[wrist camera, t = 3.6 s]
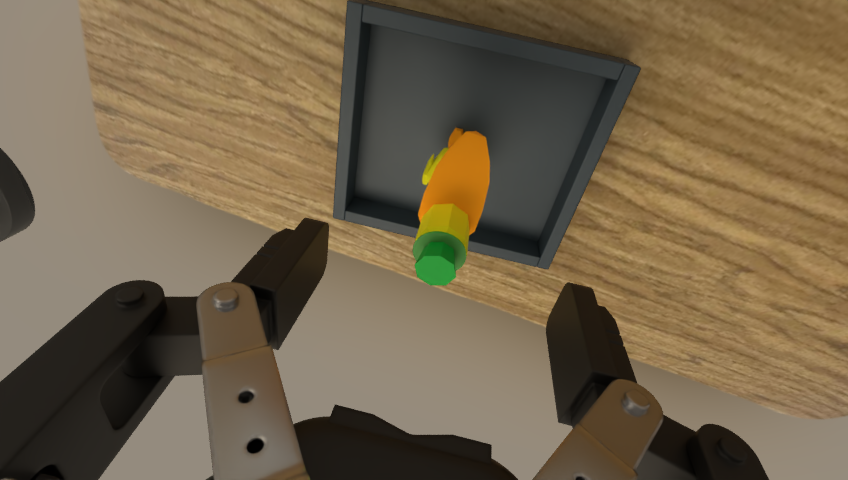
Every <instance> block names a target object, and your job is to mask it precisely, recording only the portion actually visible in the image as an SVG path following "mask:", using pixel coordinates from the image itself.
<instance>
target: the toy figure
mask: <svg viewBox="0 0 848 480" xmlns="http://www.w3.org/2000/svg"><path fill="white" fill-rule="evenodd" d="M489 181H490V160H489V153H488V147H487V140H486V137H485V136H483V135H482V134H480V133H479V132H477V131H466V132H465V133H464V134H463V129H460V128H455V129H454V131H453V132H452V134H451V135H450V138H449V142H448V148H443V150H442V151H441V152H440V153H439V154H438V156H437V157H436V158H435V159H434V154H433V155H432V156H431V157H430V159H429V160H428V163H427V165H426V168H425V170H424V173H423V176H422V183H423V184H424V185H427V183H428V186H427V188H426V190H425V192H424V195H423V198H422V202H421V205H420V209H419V212H418V217H419V220H420V226H419V229H418V232H417V236H416V239H415V243H414V246H413V255H414V258H415V260H416V261H417V262H416V263H415V269H416V273H417V277H418V278H420V279H421V280H423V281H424V282H426V283H427V284H429V285H447V284H448V283H449V282H451V281H452V280H453V279H454V278H455V277H456V272H455V271H456V270H458V269H459V268H461V267H462V266H463V264H464V262H465V260H466V256H467V250H468V241H469V235H471V234H472V233H473V232H475V229H476V227H477V224H478V222H479V219H480V216H481V214H482V211H483V207H484V203H485V199H486V195H487V191H488V186H489Z"/></svg>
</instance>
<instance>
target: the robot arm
mask: <svg viewBox="0 0 848 480" xmlns="http://www.w3.org/2000/svg"><path fill="white" fill-rule="evenodd" d="M328 236H329V225H328V223H326V222H322V221H318V220H313V219H309V218H304V219H303V220H302V221H301V223H300V224H299V225H298V226H297V228H296V229H295V230H291V229H287V228H286V229H284V230H282V231H280V232H278V233H276V234H274V235H272V236H271V238H270V239H269V240H268V241H267V242H266V243H265V244H264V247H262V248H261V249H260V250H259V251H258V252H257V255H254V256H253V258H252V259H251V260H250V261H249V262H248V263H247V264H246V265H245V267H244V268H243V269H242V270H241V271H240V272H239V273H238V275H236V277H235V278H234V279H233V280H232V281H231V282H226V283H220V284H217V285H214V286H211V287H209V288H208V289H206V290H205V291H204V292H202V293H201V294H200V295H199V296H198V297H165V296H164V291H163V289H162V288H161V286H160V285H158V284H157V283H154V282H151V281H145V280H136V281H129V282H125V283H121V284H119V285H116V286H114V287H112V288H110V289H108V290H107V291H106V292H104V293H103V294H102V295H101V296H100V297H98V298H97V299H96V300H95V301H94V302H93V303H91V304H90V305H89V306H88V307H87V308H86V309H84V310H83V311H82V312H81V313H80V314H79V315H77V317H75V318H74V319H73V320H72V321H71V322H69V323H68V324H67V325H66V326H65V327H64V328H62V329H61V330H60V331H59V332H58V333H57V334H55V335H54V336H53V337H52V338H51V339H50V340H48V341H47V342H46V343H45V344H44V345H43V346H41V347H40V348H39V349H38V350H37V351H36V352H35V353H33V354H32V355H31V356H30V357H29V358H28V359H26V361H24V362H23V363H22V364H21V365H20V366H18V367H17V368H16V369H15V370H14V371H12V372H11V373H10V374H9V375H8V376H7V377H6V378H4V379H3V380H2V381H1V382H0V480H98V479H99V478H100V476H101V475H102V474H103V472H104V471H105V470H106V468H107V467H108V466H109V464H110V463H111V462H112V460H113V459H114V458H115V456H116V455H117V453H118V452H119V451H120V449H121V448H122V447H123V445H124V444H125V443H126V441H127V440H128V439H129V437H130V436H131V435H132V433H133V432H134V430H135V429H136V428H137V426H138V425H139V424H140V422H141V421H142V420H143V418H144V417H145V416H146V414H147V413H148V411H149V410H150V409H151V407H152V406H153V405H154V403H155V402H156V401H157V399H158V398H159V397H160V395H161V394H162V393H163V391H164V390H165V389H166V387H167V386H168V384H169V383H170V382H171V380H172V379H173V378H174V376H179V375H203V384H204V393H205V403H206V412H207V421H208V430H209V440H210V449H211V459H212V467H213V476H211V477H209V478H208V479H206V480H518V479H517V478H516V477H515V476H514V475H513V474H512V473H511V472H510V471H509V470H508V469H506V468H505V467H504V466H502V465H501V464H500V463H498V462H496V461H495V460H493V459H491V445H490V444H486V443H482V442H479V441H475V440H471V439H467V438H463V437H459V436H455V435H412V434H409V433H406V432H405V431H403V430H401V429H399V428H397V427H395V426H394V425H392V424H390V423H388V422H386V421H384V420H383V419H381V418H379V417H377V416H375V415H373V414H370V413H366V412H362V411H358V410H354V409H350V408H346V407H343V406H338V405H335V406H334V408H333V411H332V414H331V416H330V417H318V418H312V419H308V420H303V421H301V422H298V423H295V424H293V422H292V419H291V415H290V411H289V407H288V404H287V400H286V397H285V393H284V389H283V385H282V382H281V378H280V374H279V371H278V367H277V363H276V360H275V357H274V352H273V349H276V350H279V348H280V346H281V345H282V343H283V341H284V340H285V338H286V336H287V335H288V333H289V331H290V330H291V328H292V326H293V325H294V323H295V321H296V320H297V318H298V316H299V315H300V313H301V311H302V310H303V308H304V306H305V305H306V303H307V301H308V299H309V298H310V296H311V295H312V293H313V291H314V290H315V288H316V286H317V285H318V283H319V281H320V280H321V278H322V276H323V274H324V271H325V268H326V264H327V253H328ZM619 334H620V332H619V329H618V327H617V324H616V321H615V319H614V318H613V317H612V315H611V314H610V313H609V312H608V310H607V309H606V308H605V307H603V306H599V305H598V304H597V301H596V297H595V294H594V291H593V289H592V288H590V287H586V286H582V285H577V284H573V283H569V282H568V283H566V284H565V286H564V288H563V289H562V291H561V293H560V295H559V297H558V299H557V301H556V303H555V305H554V307H553V309H552V311H551V313H550V315H549V318H548V321H547V326H546V336H547V344H548V351H549V358H550V365H551V373H552V380H553V387H554V395H555V402H556V409H557V417H558V422H559V423H563V424H567V425H571V426H572V427H573V429H572V431H571V432H570V433H569V434H568V436H567V437H566V438H565V439H564V441H563V442H562V443H561V444H560V446H559V447H558V448H557V449H556V451H555V452H554V453H553V454H552V456H551V457H550V458H549V459H548V461H547V462H546V463H545V464H544V466H543V467H542V468H541V469H540V471H539V472H538V473H537V475H536V476H535V477H534V478H533V480H769V479H768V477H767V475H766V473H765V471H764V469H763V467H762V465H761V463H760V461H759V459H758V457H757V455H756V454H755V453H754V451H753V450H752V449H751V448H750V446H749V445H748V444H747V443H746V442H745V441H744V440H742V439H741V438H740V437H739V436H737V435H736V434H735V433H733V432H732V431H730V430H728V429H726V428H724V427H722V426H719V425H715V424H706V425H703V426H702V427H701V428H700V429H699V430H698V431H696V432H695V431H693V430H691V429H689V428H687V427H686V426H683V425H682V424H680V423H678V422H676V421H674V420H672V419H670V418H668V417H667V416H665V415H663V411H662V408H661V406H660V404H659V403H658V401H657V400H656V399H655V397H654V396H653V395H652V394H651V393H650V392H649V391H647V390H646V389H645V388H644V387H642V386H640V385H639V384H637V381H636V378H635V376H634V372H633V370H632V367H631V364H630V361H629V358H628V355H627V352H626V350H625V347H624V346H623V341H622V338H621V336H620V335H619Z"/></svg>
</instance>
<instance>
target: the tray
mask: <svg viewBox="0 0 848 480" xmlns="http://www.w3.org/2000/svg"><path fill="white" fill-rule="evenodd" d="M640 69H641V68H640V67H639V66H637V65H636V64H634V63H632V62H630V61H629V60H627V59H623V58H618V57H614V56H610V55H605V54H601V53H596V52H592V51H588V50H583V49H579V48H575V47H570V46H566V45H561V44H557V43H553V42H548V41H544V40H539V39H535V38H531V37H526V36H522V35H517V34H513V33H509V32H504V31H500V30H496V29H491V28H487V27H482V26H478V25H474V24H469V23H465V22H460V21H456V20H452V19H447V18H443V17H438V16H434V15H430V14H425V13H421V12H417V11H412V10H408V9H403V8H399V7H395V6H390V5H386V4H381V3H377V2H373V1H368V0H348V1H347V12H346V27H345V42H344V57H343V72H342V87H341V103H340V118H339V133H338V148H337V163H336V178H335V194H334V209H333V218H336V219H340V220H345V221H348V222H352V223H356V224H361V225H365V226H369V227H373V228H377V229H381V230H385V231H389V232H394V233H398V234H402V235H406V236H410V237H414V238H416V236H417V232H418V229H419V226H420V220H419V217H418V212H419V209H420V205H421V202H422V198H423V195H424V192H425V190H426V188H427V186H428V183H427V185H424V184H423V183H422V176H423V173H424V170H425V168H426V165H427V163H428V160H429V159H430V157H431V156H432V155H433V154H434V159H435V158H436V157H437V156H438V154H439V153H440V152H441V151H442V150H443V148H448V142H449V138H450V135H451V134H452V132H453V131H454V129H455V128H460V129H463V134H464V133H465V132H466V131H477V132H479V133H480V134H482V135H483V136H485V137H486V140H487V147H488V153H489V160H490V181H489V186H488V191H487V195H486V199H485V203H484V207H483V211H482V214H481V216H480V219H479V222H478V224H477V227H476V229H475V232H473V233H472V234H471V235H469V241H468V251H472V252H476V253H480V254H485V255H489V256H493V257H497V258H501V259H505V260H509V261H514V262H518V263H522V264H526V265H530V266H534V267H536V266H537V267H539V268H543V269H549V267H550V264H551V262H552V260H553V258H554V256H555V254H556V251H557V249H558V247H559V245H560V243H561V241H562V238H563V236H564V234H565V232H566V230H567V228H568V225H569V223H570V221H571V219H572V217H573V215H574V212H575V210H576V208H577V206H578V204H579V202H580V199H581V197H582V195H583V193H584V191H585V189H586V186H587V184H588V182H589V180H590V178H591V176H592V173H593V171H594V169H595V167H596V165H597V163H598V160H599V158H600V156H601V154H602V152H603V150H604V147H605V145H606V143H607V141H608V139H609V137H610V134H611V132H612V130H613V128H614V126H615V124H616V121H617V119H618V117H619V115H620V113H621V111H622V108H623V106H624V104H625V102H626V100H627V98H628V95H629V93H630V91H631V89H632V87H633V85H634V82H635V80H636V78H637V76H638V74H639V72H640Z"/></svg>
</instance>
